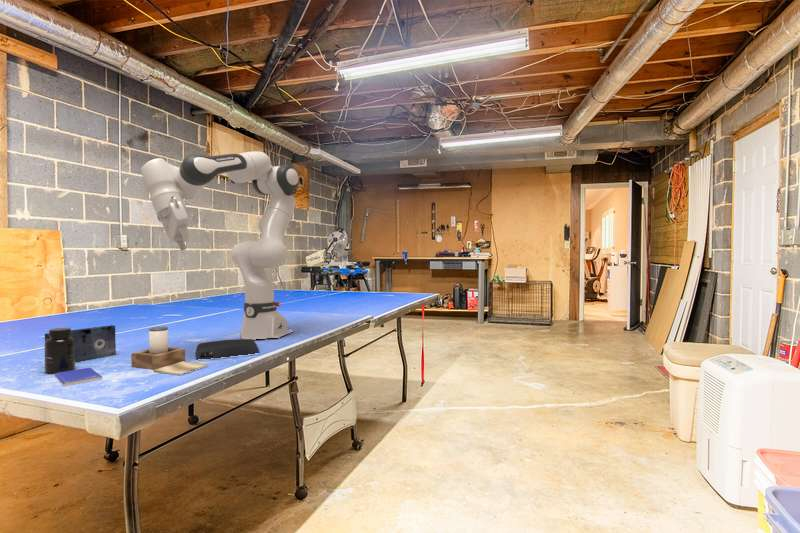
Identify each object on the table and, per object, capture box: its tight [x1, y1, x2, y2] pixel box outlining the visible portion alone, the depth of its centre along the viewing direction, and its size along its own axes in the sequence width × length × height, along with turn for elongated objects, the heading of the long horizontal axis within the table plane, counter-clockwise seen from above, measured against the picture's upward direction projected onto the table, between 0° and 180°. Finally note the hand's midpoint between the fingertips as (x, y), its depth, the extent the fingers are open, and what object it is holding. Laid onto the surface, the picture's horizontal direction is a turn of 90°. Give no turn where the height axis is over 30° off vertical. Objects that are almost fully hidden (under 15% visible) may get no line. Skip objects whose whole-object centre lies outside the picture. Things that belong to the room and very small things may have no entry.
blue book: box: [54, 367, 103, 387], centre depth 113 cm, size 2×8×12 cm
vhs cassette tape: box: [44, 324, 117, 364], centre depth 131 cm, size 18×3×10 cm, turn 149°
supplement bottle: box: [44, 327, 76, 375], centre depth 119 cm, size 7×7×12 cm
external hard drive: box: [195, 338, 260, 361], centre depth 141 cm, size 13×19×4 cm
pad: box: [152, 361, 209, 375], centre depth 122 cm, size 10×10×1 cm
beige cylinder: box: [148, 326, 169, 354], centre depth 127 cm, size 5×5×11 cm
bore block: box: [131, 346, 186, 370], centre depth 127 cm, size 10×10×4 cm
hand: (185, 245), depth 135 cm, fingers open, 8 cm apart
